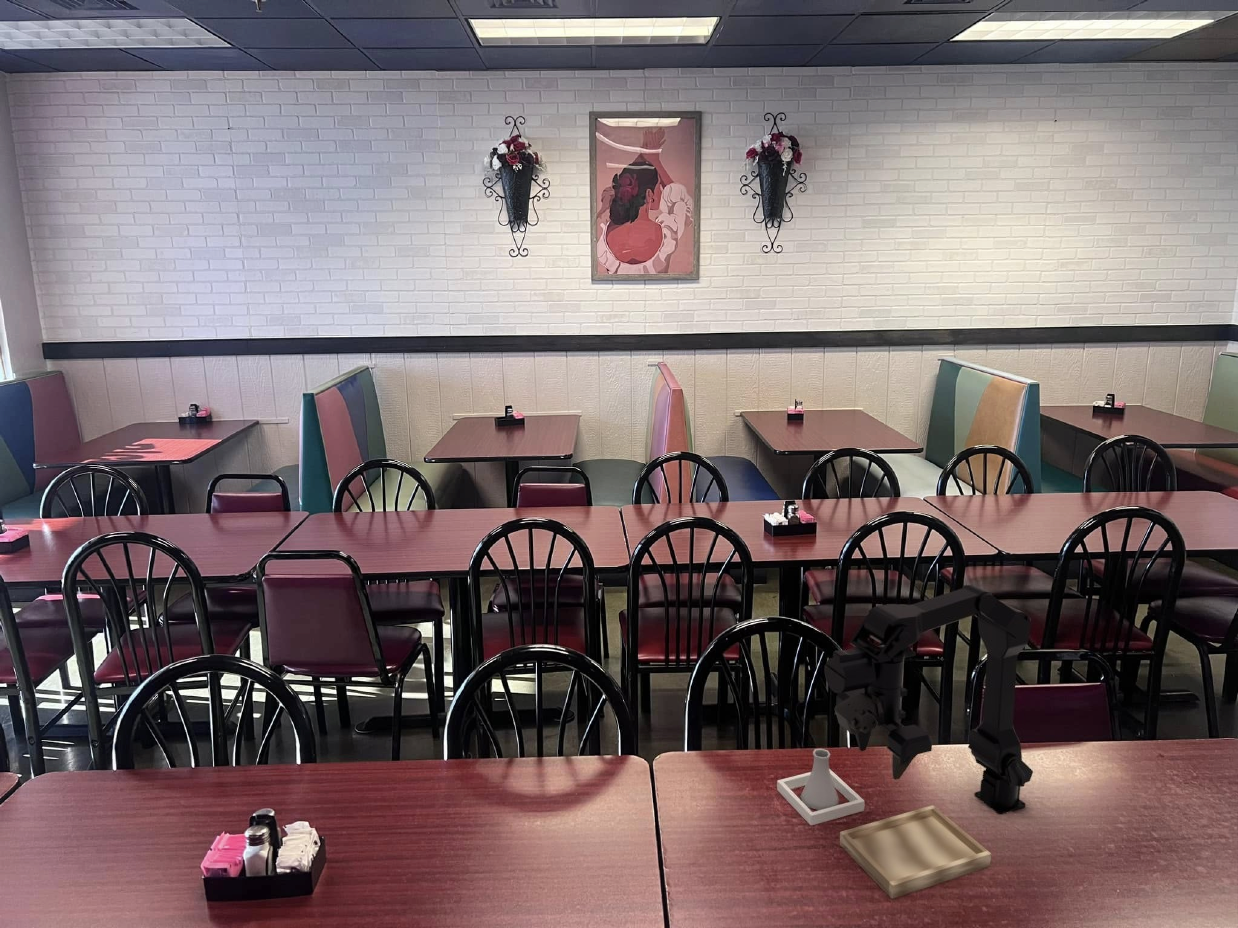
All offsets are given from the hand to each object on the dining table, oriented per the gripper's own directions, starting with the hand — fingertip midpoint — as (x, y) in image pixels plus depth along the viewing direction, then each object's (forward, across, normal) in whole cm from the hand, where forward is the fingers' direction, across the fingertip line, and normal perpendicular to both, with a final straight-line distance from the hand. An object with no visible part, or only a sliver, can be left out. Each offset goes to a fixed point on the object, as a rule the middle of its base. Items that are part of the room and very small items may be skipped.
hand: (878, 763), depth 143 cm
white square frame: (+15, -13, -3) cm, 20 cm away
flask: (+15, -13, -3) cm, 20 cm away
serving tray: (+15, +6, +3) cm, 16 cm away
